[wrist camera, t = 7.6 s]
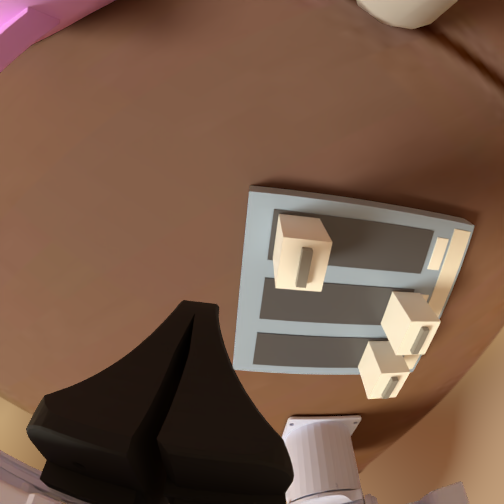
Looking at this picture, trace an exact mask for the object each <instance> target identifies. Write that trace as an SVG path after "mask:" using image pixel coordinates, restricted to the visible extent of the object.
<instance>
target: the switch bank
mask: <svg viewBox="0 0 504 504" xmlns="http://www.w3.org/2000/svg"><path fill="white" fill-rule="evenodd" d="M279 214H286V215H295V216H303V217H312V218H320V220H321V222H322V224H323V226H324V227H325V229H326V231H327V233H328V235H329V237H330V239H331V240H332V247H331V252H330V256H329V261H328V265H327V269H326V274H325V278H324V282H323V287H322V291H321V292H317V291H304V290H291V289H280V288H275V277H274V266H273V252H274V245H275V238H276V231H277V223H278V216H279ZM473 230H474V225H473V224H472V223H470V222H469V221H467V220H466V219H464V218H460V217H455V216H450V215H445V214H440V213H435V212H430V211H425V210H420V209H415V208H409V207H404V206H398V205H392V204H387V203H381V202H374V201H368V200H362V199H355V198H349V197H342V196H335V195H328V194H320V193H313V192H305V191H297V190H289V189H280V188H271V187H262V186H252V185H250V189H249V199H248V209H247V219H246V229H245V239H244V250H243V260H242V271H241V281H240V292H239V303H238V314H237V324H236V335H235V347H234V358H233V368H234V370H244V371H257V372H272V373H292V374H337V375H341V374H360V372H359V369H358V365H359V363H360V360H361V358H362V356H363V353H364V351H365V348H366V346H367V344H368V341H389V340H388V338H387V336H386V334H385V332H384V330H383V327H382V325H381V321H382V318H383V316H384V313H385V310H386V308H387V305H388V302H389V300H390V297H391V294H392V291H396V292H413V293H420V294H421V295H422V296H423V298H424V299H425V300H426V302H427V303H428V304H429V306H430V307H431V309H432V310H433V311H434V313H435V314H436V315H437V317H438V318H439V319H440V317H441V315H442V313H443V310H444V308H445V306H446V304H447V301H448V299H449V297H450V294H451V292H452V289H453V287H454V284H455V282H456V279H457V277H458V274H459V271H460V269H461V266H462V263H463V260H464V257H465V255H466V252H467V249H468V246H469V243H470V239H471V236H472V233H473ZM402 356H403V358H404V360H405V362H406V364H407V366H408V368H409V370H410V372H413V370H414V369H415V367H416V365H417V363H418V361H419V360H420V358H421V356H422V354H419V355H402Z"/></svg>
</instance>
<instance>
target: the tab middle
mask: <svg viewBox="0 0 504 504" xmlns="http://www.w3.org/2000/svg"><path fill="white" fill-rule="evenodd" d="M440 322H441V321H440V320H439V318H438V317H437V315H436V314H435V313H434V311H433V310H432V309H431V307H430V306H429V304H428V303H427V302H426V300H425V299H424V298H423V296H422V295H421V294H420V293H413V292H396V291H392V294H391V297H390V300H389V302H388V305H387V308H386V310H385V313H384V316H383V318H382V321H381V325H382V327H383V330H384V332H385V334H386V336H387V338H388V340H389V342H390V344H391V346H392V348H393V350H394V353H395V355H419V354H425V353H426V351H427V349H428V347H429V345H430V343H431V341H432V339H433V337H434V335H435V333H436V331H437V329H438V327H439V324H440Z"/></svg>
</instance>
